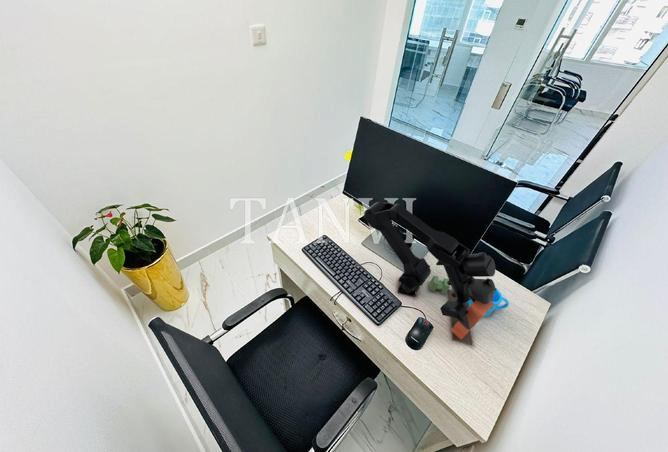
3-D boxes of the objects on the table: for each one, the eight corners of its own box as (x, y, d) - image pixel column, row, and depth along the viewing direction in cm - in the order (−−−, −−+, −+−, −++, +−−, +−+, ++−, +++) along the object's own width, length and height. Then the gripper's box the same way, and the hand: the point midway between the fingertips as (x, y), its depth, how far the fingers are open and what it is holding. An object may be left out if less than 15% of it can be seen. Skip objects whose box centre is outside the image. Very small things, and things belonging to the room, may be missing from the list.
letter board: (452, 339, 83) (453, 338, 82) (447, 290, 97) (448, 289, 96) (471, 345, 82) (472, 344, 81) (464, 294, 96) (465, 293, 96)
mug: (469, 313, 90) (479, 300, 85) (466, 293, 96) (475, 281, 91) (505, 321, 89) (517, 309, 83) (499, 301, 95) (511, 289, 89)
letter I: (450, 330, 84) (470, 305, 74) (461, 319, 88) (481, 294, 77) (461, 340, 82) (483, 315, 71) (471, 328, 85) (494, 303, 74)
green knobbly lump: (445, 294, 96) (450, 286, 92) (429, 290, 97) (433, 282, 93) (444, 286, 98) (449, 279, 95) (429, 283, 99) (433, 275, 96)
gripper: (465, 294, 66) (486, 347, 67) (500, 262, 75) (518, 309, 76) (431, 290, 76) (449, 336, 77) (465, 262, 84) (481, 304, 86)
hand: (475, 321), depth 79 cm, fingers open, 8 cm apart
